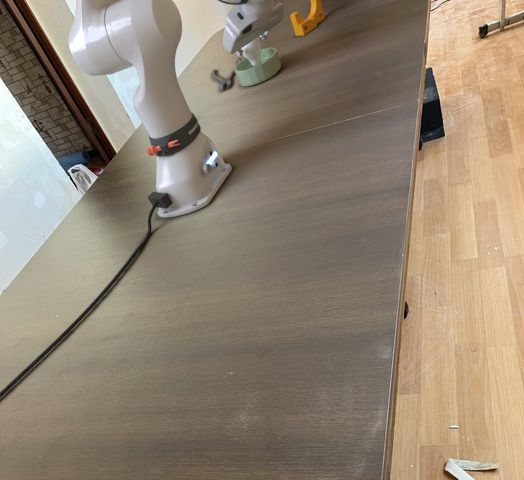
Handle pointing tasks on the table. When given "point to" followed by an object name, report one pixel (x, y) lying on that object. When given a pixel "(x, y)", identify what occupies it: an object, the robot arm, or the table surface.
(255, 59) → the lightbulb
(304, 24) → the pipe clamp
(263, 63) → the bowl
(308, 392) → the table surface
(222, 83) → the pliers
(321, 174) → the table surface
